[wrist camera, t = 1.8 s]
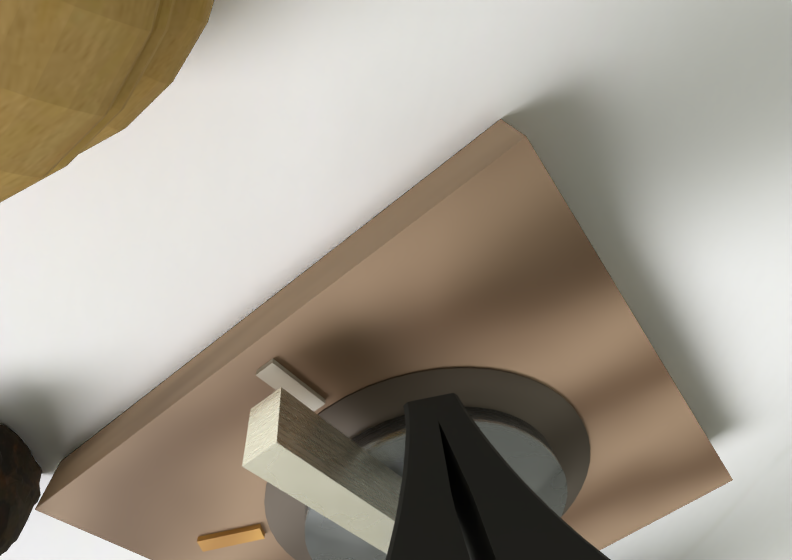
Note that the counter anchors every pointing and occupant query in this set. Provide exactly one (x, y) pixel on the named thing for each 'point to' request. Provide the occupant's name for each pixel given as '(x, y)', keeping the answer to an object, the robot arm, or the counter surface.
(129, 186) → the counter surface
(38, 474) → the brown rough bar
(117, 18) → the pot
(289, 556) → the dial board
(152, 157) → the counter surface
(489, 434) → the dial
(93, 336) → the counter surface
